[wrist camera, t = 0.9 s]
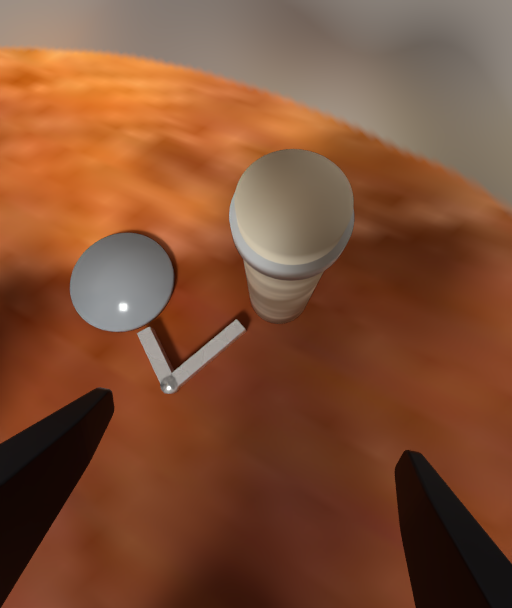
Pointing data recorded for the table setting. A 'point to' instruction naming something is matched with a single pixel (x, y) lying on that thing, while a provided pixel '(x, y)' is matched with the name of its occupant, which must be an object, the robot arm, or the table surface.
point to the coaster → (122, 282)
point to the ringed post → (289, 228)
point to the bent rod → (194, 364)
